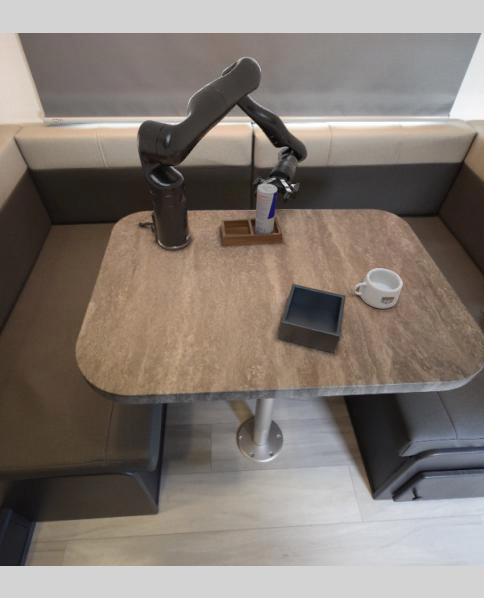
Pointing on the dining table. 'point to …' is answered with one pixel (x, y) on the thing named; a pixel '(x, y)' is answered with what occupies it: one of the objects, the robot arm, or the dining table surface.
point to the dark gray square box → (312, 318)
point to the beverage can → (265, 208)
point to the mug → (380, 288)
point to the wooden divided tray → (247, 232)
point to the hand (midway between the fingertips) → (270, 198)
